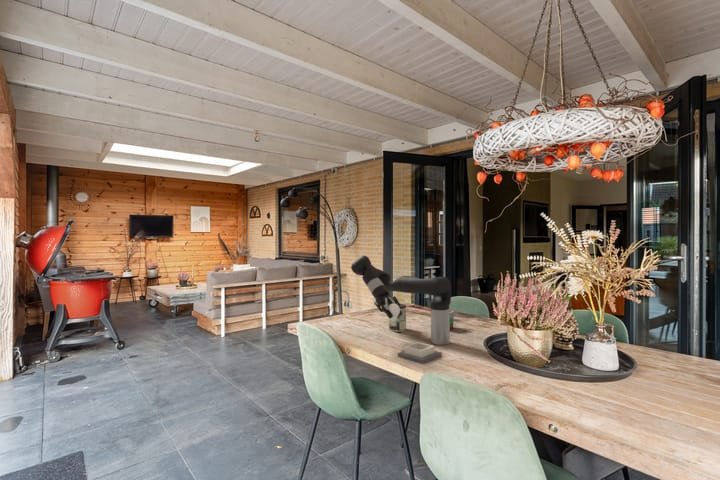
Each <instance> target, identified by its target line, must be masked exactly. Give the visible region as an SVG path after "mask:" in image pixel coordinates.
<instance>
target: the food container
mask: <svg viewBox="0 0 720 480" xmlns="http://www.w3.org/2000/svg"><path fill="white" fill-rule="evenodd" d="M455 316H456V312H455V311H454V310H453V309H449V323H450V331H451V330H454V321H455V319H454V318H455Z"/></svg>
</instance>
